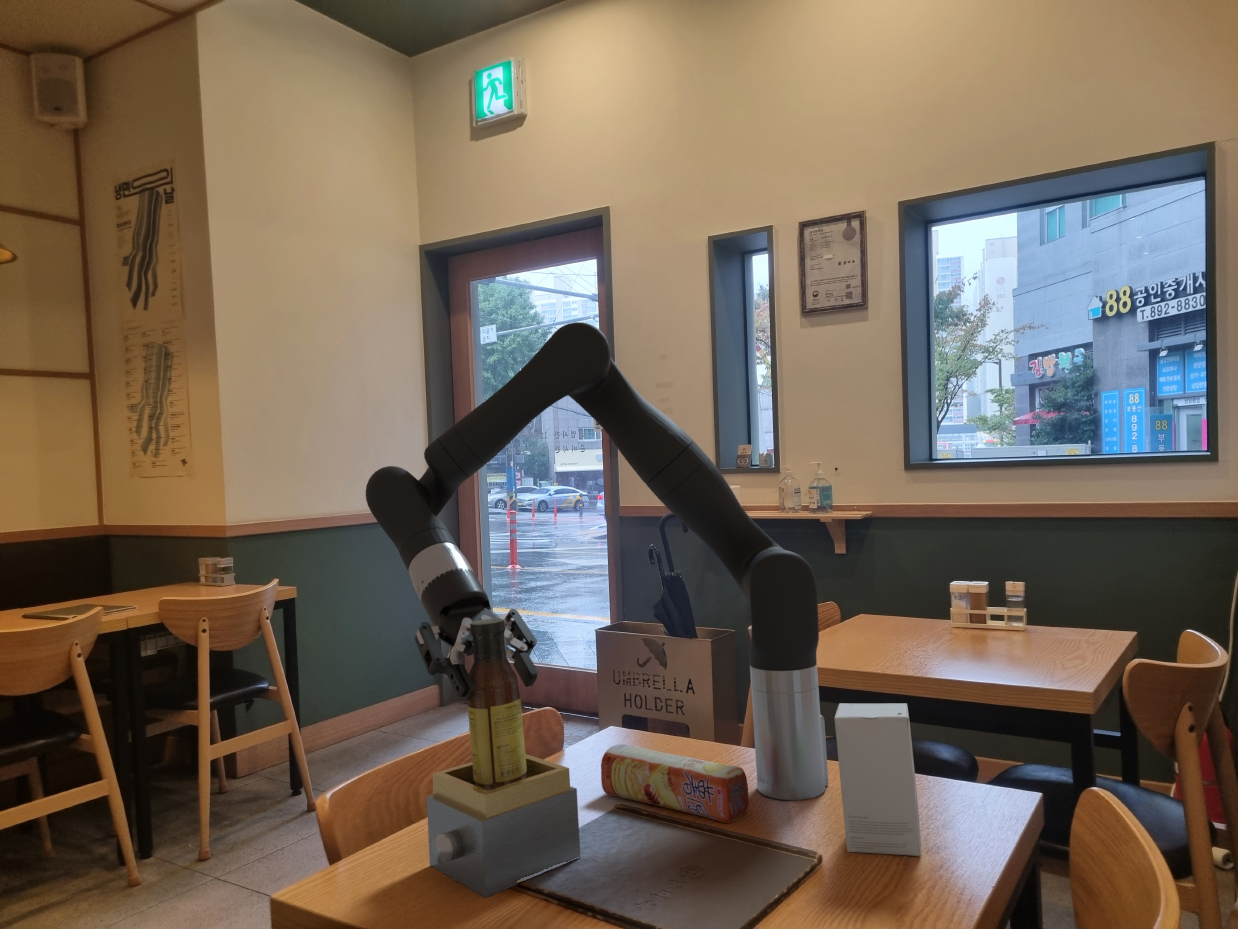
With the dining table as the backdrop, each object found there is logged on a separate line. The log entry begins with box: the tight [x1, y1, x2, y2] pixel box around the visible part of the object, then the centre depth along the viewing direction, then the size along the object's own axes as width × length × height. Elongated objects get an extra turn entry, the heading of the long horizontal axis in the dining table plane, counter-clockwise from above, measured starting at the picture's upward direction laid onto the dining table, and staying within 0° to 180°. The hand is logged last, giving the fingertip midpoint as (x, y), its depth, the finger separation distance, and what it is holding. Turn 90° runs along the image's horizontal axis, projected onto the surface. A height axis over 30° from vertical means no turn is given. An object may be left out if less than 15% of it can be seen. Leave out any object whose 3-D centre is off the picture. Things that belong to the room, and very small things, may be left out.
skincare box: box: [833, 702, 922, 857], centre depth 97 cm, size 8×7×16 cm
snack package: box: [600, 743, 750, 824], centre depth 114 cm, size 21×7×7 cm, turn 51°
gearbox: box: [426, 753, 581, 898], centre depth 98 cm, size 15×12×10 cm
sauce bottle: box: [467, 619, 527, 791], centre depth 99 cm, size 6×6×20 cm
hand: (502, 689), depth 98 cm, fingers open, 8 cm apart
